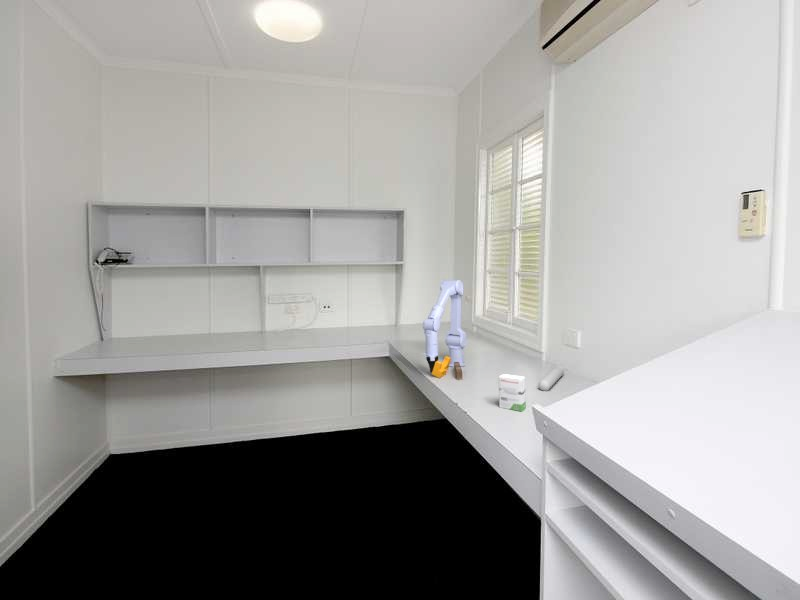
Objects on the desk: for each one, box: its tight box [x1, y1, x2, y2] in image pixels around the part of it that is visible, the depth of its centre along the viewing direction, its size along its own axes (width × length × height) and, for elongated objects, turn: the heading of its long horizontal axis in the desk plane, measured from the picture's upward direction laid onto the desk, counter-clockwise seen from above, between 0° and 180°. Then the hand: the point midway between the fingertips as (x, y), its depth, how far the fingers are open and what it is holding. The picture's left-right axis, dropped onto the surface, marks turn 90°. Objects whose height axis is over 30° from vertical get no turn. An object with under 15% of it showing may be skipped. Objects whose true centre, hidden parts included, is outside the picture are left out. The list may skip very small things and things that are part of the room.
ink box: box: [498, 373, 527, 412], centre depth 147 cm, size 9×5×12 cm, turn 54°
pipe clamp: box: [431, 355, 451, 379], centre depth 192 cm, size 12×4×6 cm, turn 148°
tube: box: [538, 364, 565, 392], centre depth 174 cm, size 5×5×25 cm
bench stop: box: [453, 362, 463, 381], centre depth 191 cm, size 16×2×4 cm, turn 177°
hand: (432, 372), depth 192 cm, fingers closed
